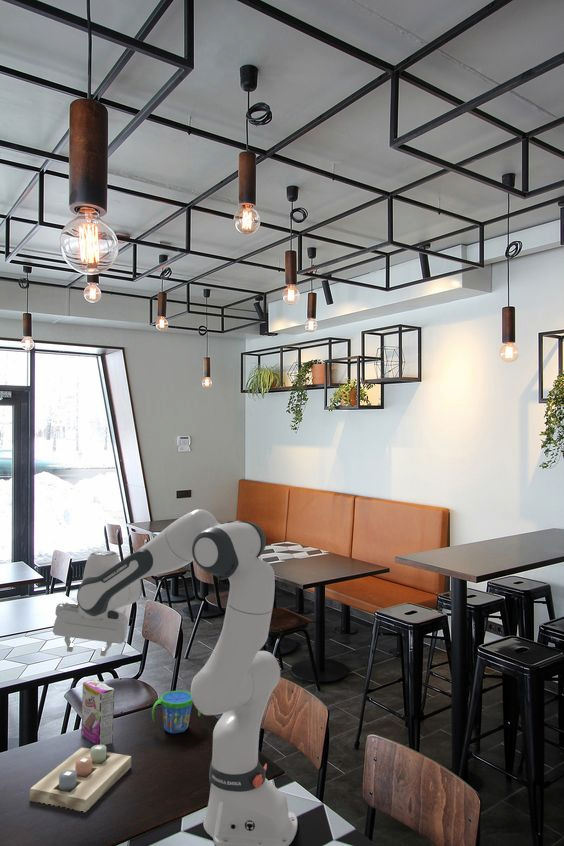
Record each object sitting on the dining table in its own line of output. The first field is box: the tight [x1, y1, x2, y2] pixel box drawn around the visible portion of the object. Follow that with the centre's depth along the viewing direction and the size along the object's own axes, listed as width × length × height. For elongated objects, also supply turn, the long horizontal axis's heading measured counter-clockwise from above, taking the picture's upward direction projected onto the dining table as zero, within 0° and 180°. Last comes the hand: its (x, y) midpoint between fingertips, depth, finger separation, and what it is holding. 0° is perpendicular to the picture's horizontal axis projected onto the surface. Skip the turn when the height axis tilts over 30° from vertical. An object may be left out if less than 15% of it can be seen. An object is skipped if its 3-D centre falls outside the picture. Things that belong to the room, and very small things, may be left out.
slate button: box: [59, 770, 77, 792], centre depth 152 cm, size 4×4×4 cm
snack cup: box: [151, 690, 202, 734], centre depth 191 cm, size 16×10×10 cm
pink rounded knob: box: [75, 757, 92, 778], centre depth 159 cm, size 4×4×4 cm
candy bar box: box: [80, 678, 116, 747], centre depth 183 cm, size 11×5×16 cm, turn 47°
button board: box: [29, 747, 132, 813], centre depth 159 cm, size 16×22×3 cm
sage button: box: [90, 744, 107, 765], centre depth 166 cm, size 4×4×4 cm
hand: (86, 653), depth 170 cm, fingers open, 8 cm apart
